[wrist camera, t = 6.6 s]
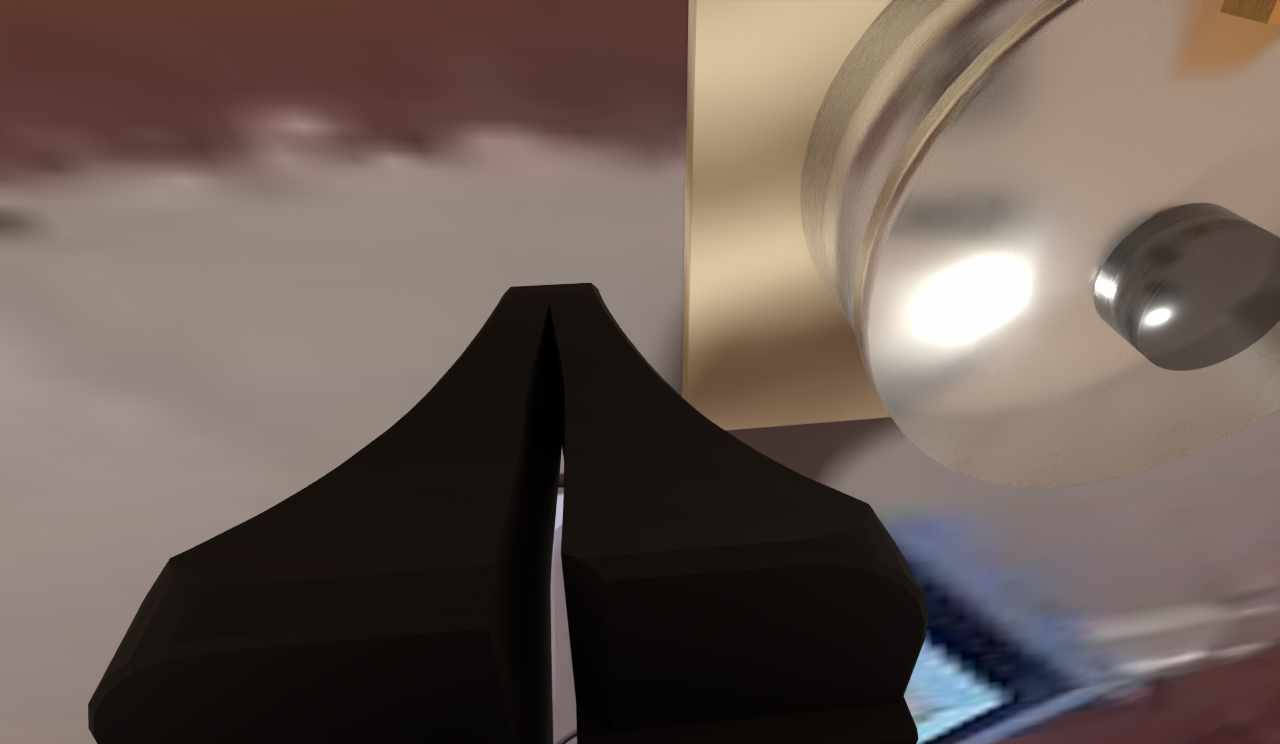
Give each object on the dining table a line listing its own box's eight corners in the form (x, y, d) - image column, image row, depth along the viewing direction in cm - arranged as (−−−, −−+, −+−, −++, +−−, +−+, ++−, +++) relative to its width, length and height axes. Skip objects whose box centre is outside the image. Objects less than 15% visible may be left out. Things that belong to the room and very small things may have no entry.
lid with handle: (1277, 433, 20) (1358, 499, 18) (827, 484, 19) (859, 559, 17) (1871, -540, 10) (2215, -639, 8) (955, -490, 9) (1069, -583, 7)
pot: (1134, 329, 24) (1251, 426, 20) (780, 355, 23) (828, 462, 19) (1436, -335, 15) (1767, -401, 11) (859, -329, 14) (984, -399, 10)
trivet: (1159, 373, 27) (1182, 393, 26) (681, 411, 26) (686, 433, 25) (1478, -266, 16) (1535, -271, 16) (693, -252, 15) (702, -258, 14)
